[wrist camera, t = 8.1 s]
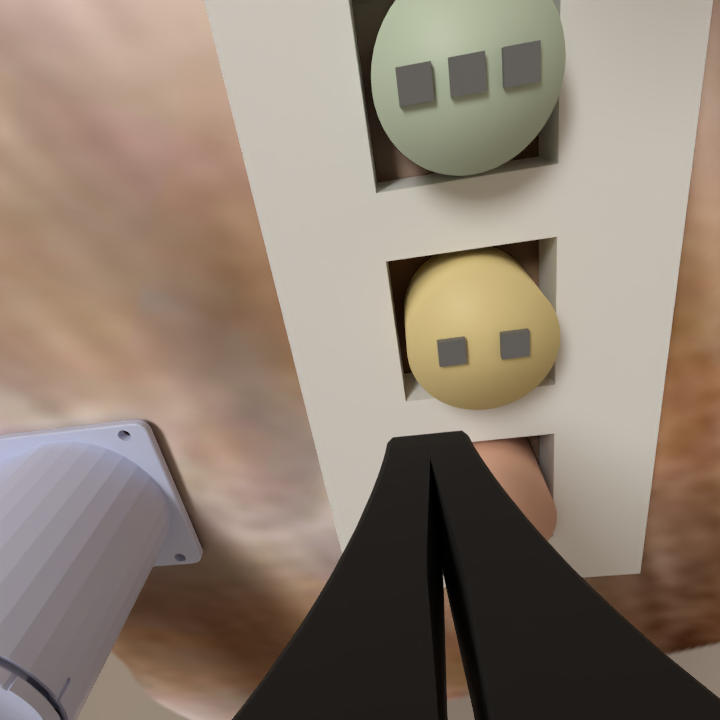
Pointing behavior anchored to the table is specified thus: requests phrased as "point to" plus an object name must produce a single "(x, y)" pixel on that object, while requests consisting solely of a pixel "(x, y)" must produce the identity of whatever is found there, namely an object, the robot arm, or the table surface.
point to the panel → (477, 230)
